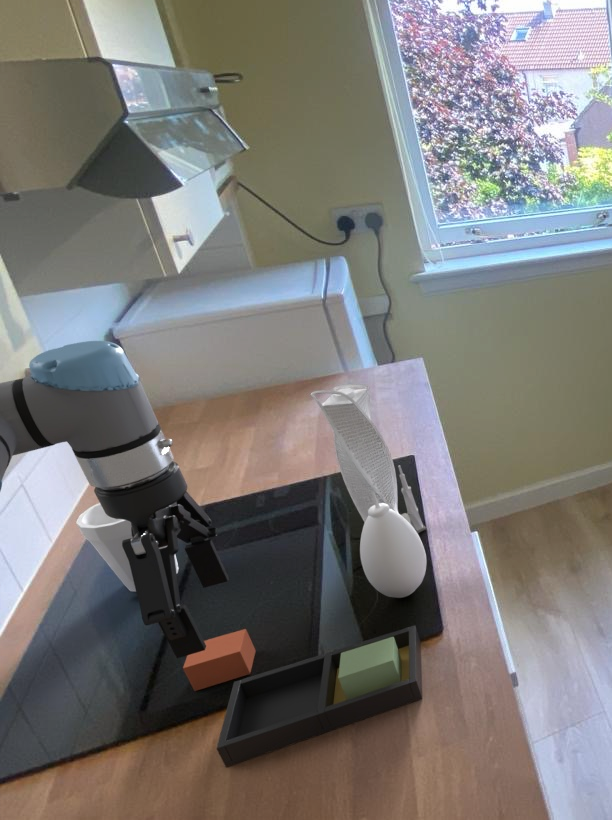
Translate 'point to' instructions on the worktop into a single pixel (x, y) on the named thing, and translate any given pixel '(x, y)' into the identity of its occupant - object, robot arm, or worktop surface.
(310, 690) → the divided sorting tray
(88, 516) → the foam cup
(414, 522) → the skyscraper
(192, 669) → the terracotta block
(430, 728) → the worktop surface
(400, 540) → the white tall egg-shaped piece
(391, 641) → the light green block
